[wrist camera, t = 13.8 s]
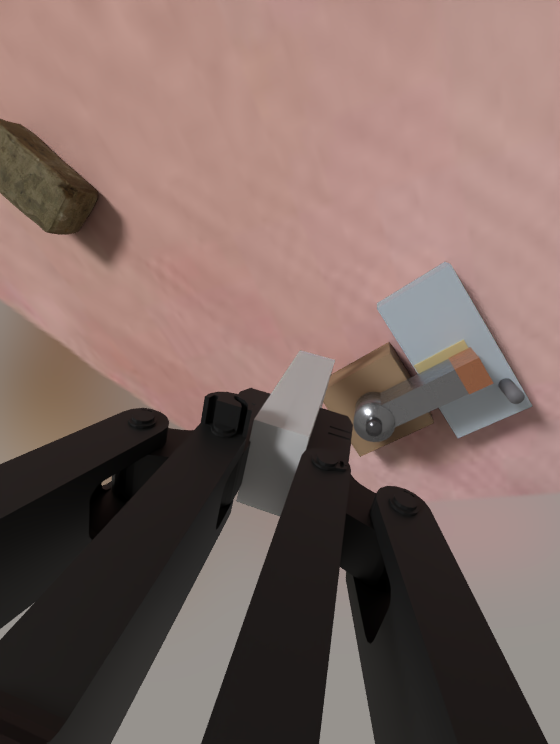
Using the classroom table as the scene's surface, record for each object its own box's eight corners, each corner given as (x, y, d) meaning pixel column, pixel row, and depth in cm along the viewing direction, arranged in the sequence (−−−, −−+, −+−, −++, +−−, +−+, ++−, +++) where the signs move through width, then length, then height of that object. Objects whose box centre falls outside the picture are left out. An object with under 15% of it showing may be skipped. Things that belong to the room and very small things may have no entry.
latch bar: (367, 431, 38) (366, 454, 34) (348, 401, 38) (344, 421, 34) (486, 376, 34) (501, 394, 30) (467, 341, 33) (479, 355, 30)
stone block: (83, 238, 44) (49, 238, 39) (3, 169, 43) (-42, 161, 39) (106, 193, 41) (71, 188, 37) (21, 120, 41) (-24, 105, 36)
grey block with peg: (444, 261, 36) (457, 266, 30) (521, 393, 38) (545, 420, 32) (377, 303, 38) (377, 314, 33) (452, 424, 41) (464, 454, 35)
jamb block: (388, 342, 39) (390, 353, 36) (428, 405, 40) (433, 422, 37) (322, 379, 42) (317, 393, 39) (361, 437, 43) (360, 456, 40)
